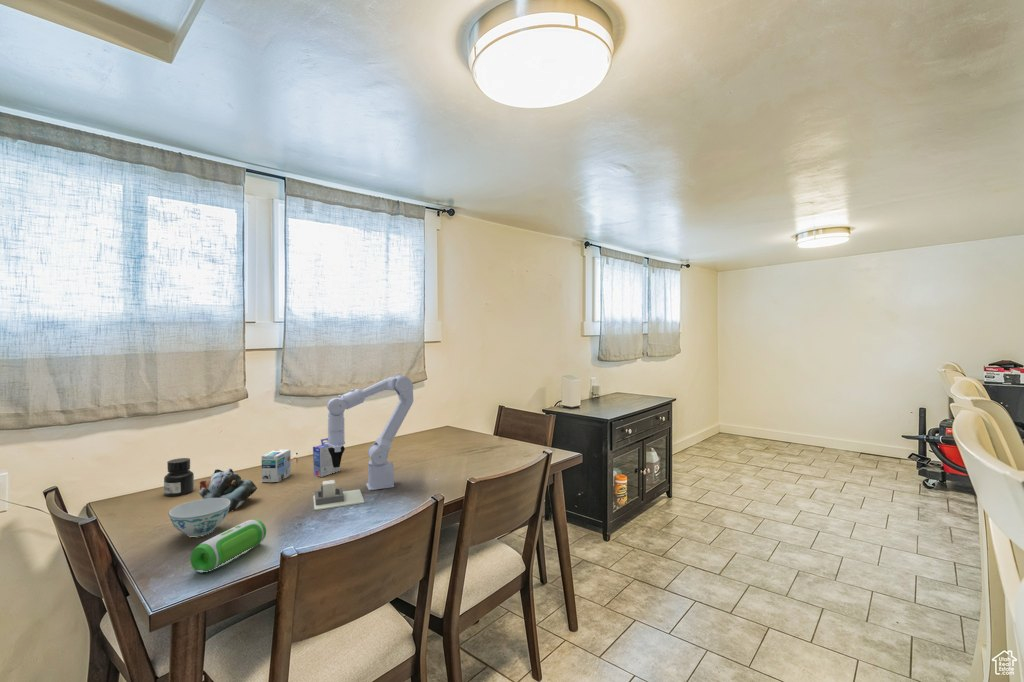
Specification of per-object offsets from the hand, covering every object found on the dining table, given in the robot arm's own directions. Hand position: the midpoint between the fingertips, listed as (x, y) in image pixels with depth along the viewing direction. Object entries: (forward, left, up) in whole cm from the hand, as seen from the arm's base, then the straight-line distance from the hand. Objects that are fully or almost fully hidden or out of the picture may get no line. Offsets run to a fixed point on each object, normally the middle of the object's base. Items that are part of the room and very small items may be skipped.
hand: (336, 466), depth 169 cm
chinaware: (+39, +20, -10) cm, 45 cm away
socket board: (0, +9, -9) cm, 13 cm away
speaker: (+29, +41, -10) cm, 51 cm away
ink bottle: (+53, -24, -10) cm, 59 cm away
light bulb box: (+21, -27, -10) cm, 36 cm away
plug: (+3, +8, -9) cm, 12 cm away
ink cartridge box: (+2, -26, -10) cm, 28 cm away
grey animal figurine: (+34, -1, -10) cm, 36 cm away
